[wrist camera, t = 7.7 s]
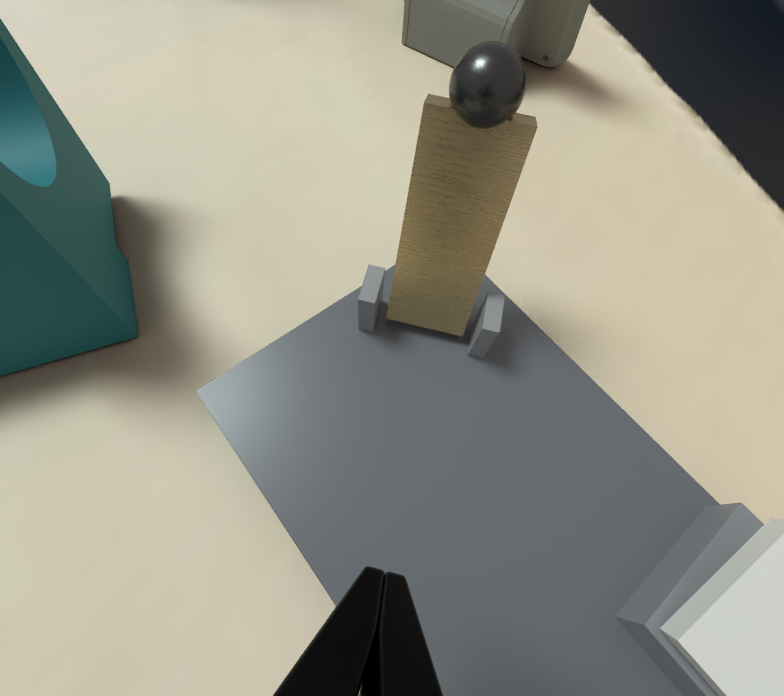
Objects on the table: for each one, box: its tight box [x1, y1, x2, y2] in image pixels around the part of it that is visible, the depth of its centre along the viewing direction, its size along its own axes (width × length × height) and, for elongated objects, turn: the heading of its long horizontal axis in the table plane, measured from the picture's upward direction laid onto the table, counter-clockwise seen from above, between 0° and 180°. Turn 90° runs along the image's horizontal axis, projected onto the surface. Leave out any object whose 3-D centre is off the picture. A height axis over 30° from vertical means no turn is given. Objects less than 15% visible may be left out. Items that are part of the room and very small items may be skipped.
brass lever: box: [386, 41, 537, 337], centre depth 18 cm, size 3×4×12 cm, turn 77°
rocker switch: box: [660, 518, 784, 696], centre depth 15 cm, size 6×4×1 cm, turn 129°
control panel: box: [196, 265, 764, 696], centre depth 17 cm, size 16×33×4 cm, turn 39°
